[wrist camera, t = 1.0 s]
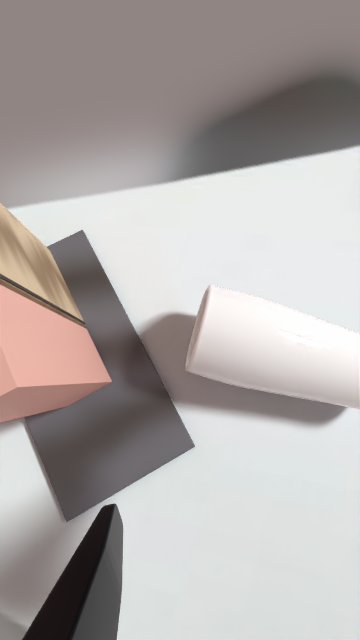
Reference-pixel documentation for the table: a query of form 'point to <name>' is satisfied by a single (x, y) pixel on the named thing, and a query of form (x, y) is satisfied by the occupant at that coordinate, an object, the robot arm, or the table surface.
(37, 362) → the stub
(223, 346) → the drinking glass
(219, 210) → the table surface
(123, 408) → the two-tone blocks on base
